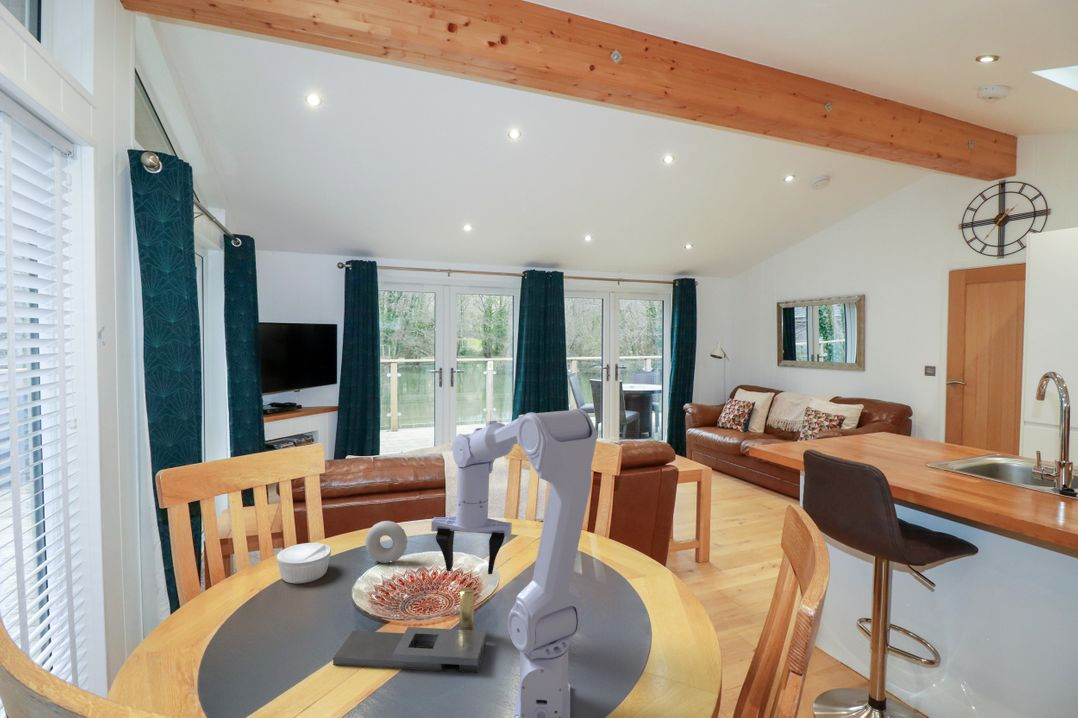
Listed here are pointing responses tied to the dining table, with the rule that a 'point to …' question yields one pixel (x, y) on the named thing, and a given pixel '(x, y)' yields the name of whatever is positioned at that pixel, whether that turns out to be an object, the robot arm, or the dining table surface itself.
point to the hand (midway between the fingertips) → (470, 570)
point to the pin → (466, 609)
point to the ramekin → (303, 562)
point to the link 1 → (378, 651)
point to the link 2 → (443, 647)
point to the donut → (378, 550)
